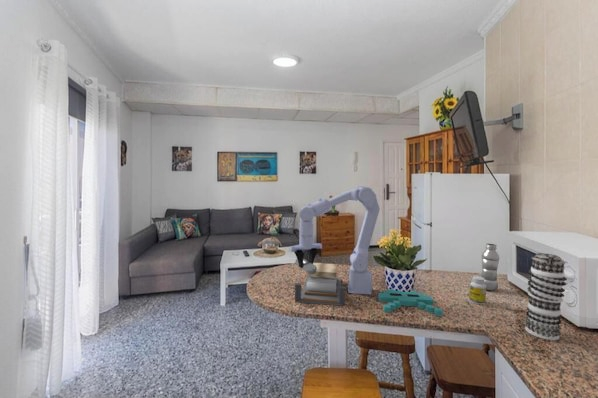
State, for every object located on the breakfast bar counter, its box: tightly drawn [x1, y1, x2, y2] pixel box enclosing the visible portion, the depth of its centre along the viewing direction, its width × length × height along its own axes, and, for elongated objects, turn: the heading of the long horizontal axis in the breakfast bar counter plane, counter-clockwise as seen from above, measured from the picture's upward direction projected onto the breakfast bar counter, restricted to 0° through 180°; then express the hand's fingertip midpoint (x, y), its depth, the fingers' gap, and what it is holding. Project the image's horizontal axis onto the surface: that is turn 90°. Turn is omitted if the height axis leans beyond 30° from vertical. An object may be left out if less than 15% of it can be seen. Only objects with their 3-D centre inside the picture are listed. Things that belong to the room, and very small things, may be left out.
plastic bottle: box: [480, 243, 500, 292], centre depth 126 cm, size 6×7×20 cm
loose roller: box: [295, 258, 317, 275], centre depth 123 cm, size 12×4×4 cm, turn 26°
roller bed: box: [294, 276, 346, 306], centre depth 123 cm, size 19×28×6 cm
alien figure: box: [377, 288, 444, 317], centre depth 113 cm, size 20×2×20 cm
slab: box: [307, 262, 338, 278], centre depth 130 cm, size 12×12×2 cm
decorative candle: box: [524, 252, 568, 341], centre depth 91 cm, size 9×9×25 cm
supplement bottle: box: [468, 275, 487, 306], centre depth 114 cm, size 5×5×10 cm
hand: (305, 266), depth 123 cm, fingers closed on loose roller, 4 cm apart
